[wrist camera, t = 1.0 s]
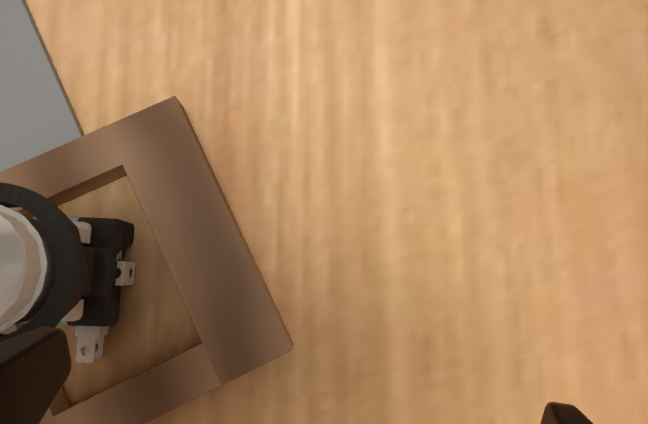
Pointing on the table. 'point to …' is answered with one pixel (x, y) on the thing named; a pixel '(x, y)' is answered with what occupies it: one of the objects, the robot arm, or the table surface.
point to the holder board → (168, 259)
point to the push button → (60, 269)
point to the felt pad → (29, 91)
